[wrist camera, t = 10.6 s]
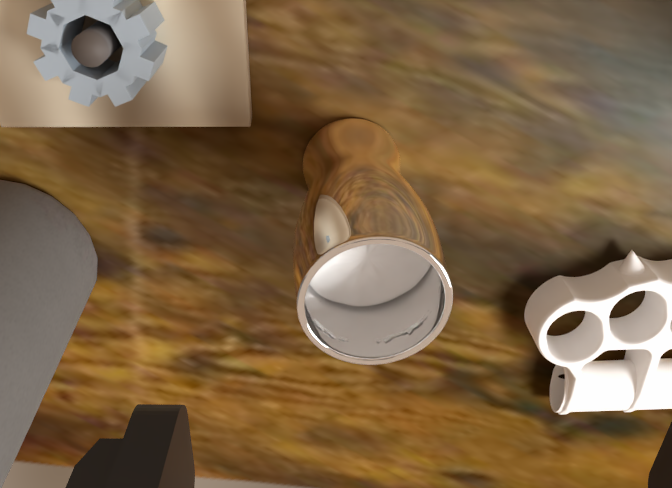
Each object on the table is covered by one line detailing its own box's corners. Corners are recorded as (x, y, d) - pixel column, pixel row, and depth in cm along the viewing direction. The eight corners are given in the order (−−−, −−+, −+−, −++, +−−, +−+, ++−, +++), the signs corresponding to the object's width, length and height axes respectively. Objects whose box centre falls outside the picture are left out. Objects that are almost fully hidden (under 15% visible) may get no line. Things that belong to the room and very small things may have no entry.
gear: (130, -47, 31) (111, -39, 28) (186, 63, 33) (175, 81, 30) (30, 0, 31) (1, 13, 28) (93, 103, 34) (73, 124, 31)
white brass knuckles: (506, 394, 50) (535, 238, 43) (722, 387, 51) (788, 232, 43) (518, 426, 47) (552, 264, 40) (748, 418, 48) (823, 257, 40)
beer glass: (281, 126, 37) (269, 256, 24) (394, 97, 37) (444, 214, 24) (312, 224, 41) (316, 383, 28) (415, 198, 40) (469, 349, 27)
